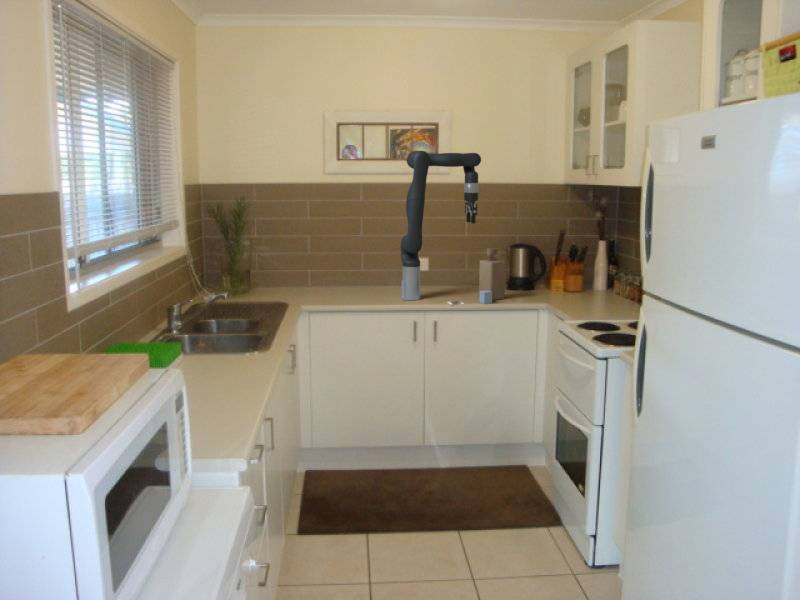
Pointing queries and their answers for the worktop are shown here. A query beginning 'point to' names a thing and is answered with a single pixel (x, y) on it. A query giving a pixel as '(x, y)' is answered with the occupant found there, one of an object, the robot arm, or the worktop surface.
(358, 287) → the worktop surface
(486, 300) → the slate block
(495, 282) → the wooden block
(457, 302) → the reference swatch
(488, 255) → the walnut block
